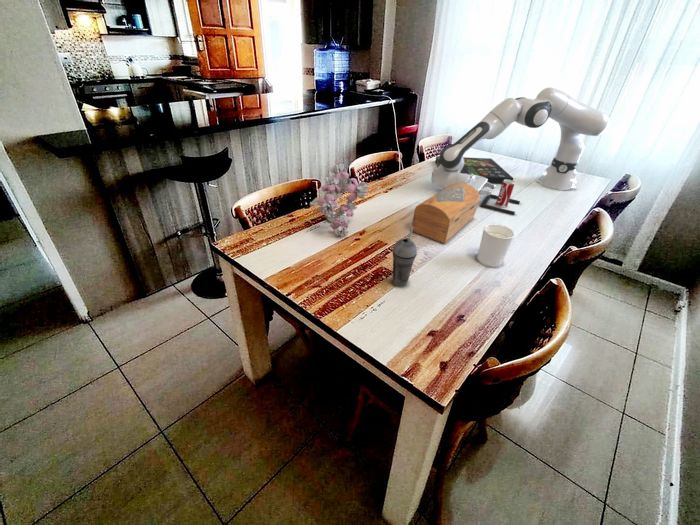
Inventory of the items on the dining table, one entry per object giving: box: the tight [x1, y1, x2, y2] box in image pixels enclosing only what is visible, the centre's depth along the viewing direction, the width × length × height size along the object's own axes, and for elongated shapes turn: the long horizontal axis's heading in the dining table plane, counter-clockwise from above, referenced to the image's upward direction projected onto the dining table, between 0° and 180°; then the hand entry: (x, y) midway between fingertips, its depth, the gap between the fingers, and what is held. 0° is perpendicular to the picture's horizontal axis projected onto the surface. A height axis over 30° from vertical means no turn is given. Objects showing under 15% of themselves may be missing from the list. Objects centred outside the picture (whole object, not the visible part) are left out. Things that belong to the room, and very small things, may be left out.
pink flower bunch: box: [309, 162, 372, 239], centre depth 126 cm, size 20×22×25 cm
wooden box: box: [411, 183, 481, 244], centre depth 133 cm, size 30×16×14 cm, turn 140°
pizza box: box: [434, 155, 514, 185], centre depth 193 cm, size 35×35×4 cm
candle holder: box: [476, 223, 516, 268], centre depth 112 cm, size 10×10×12 cm
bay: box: [479, 193, 521, 216], centre depth 155 cm, size 16×15×1 cm
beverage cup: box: [392, 226, 418, 288], centre depth 97 cm, size 7×7×20 cm
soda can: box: [495, 179, 515, 208], centre depth 152 cm, size 5×5×12 cm
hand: (492, 190), depth 154 cm, fingers open, 8 cm apart
